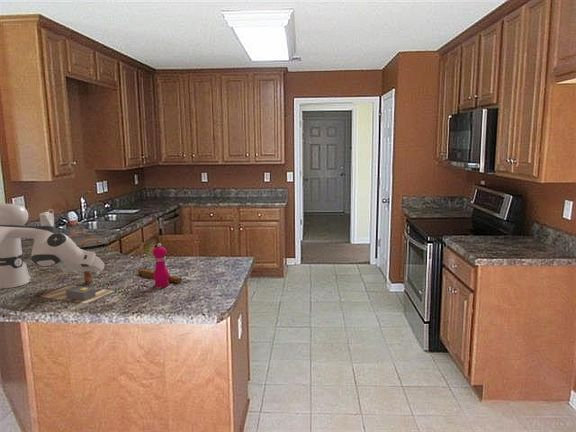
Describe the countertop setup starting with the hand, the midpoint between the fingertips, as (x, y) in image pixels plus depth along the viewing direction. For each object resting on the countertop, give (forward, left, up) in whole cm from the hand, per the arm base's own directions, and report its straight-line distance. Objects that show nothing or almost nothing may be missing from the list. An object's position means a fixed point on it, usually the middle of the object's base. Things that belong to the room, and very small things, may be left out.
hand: (88, 273), depth 207 cm
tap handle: (+25, +19, -6) cm, 32 cm away
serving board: (-72, +67, -7) cm, 99 cm away
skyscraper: (-69, +37, -6) cm, 79 cm away
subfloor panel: (+7, -14, -6) cm, 16 cm away
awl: (0, -1, -6) cm, 6 cm away
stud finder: (+12, -17, -5) cm, 21 cm away
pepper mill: (+33, +10, -6) cm, 35 cm away
